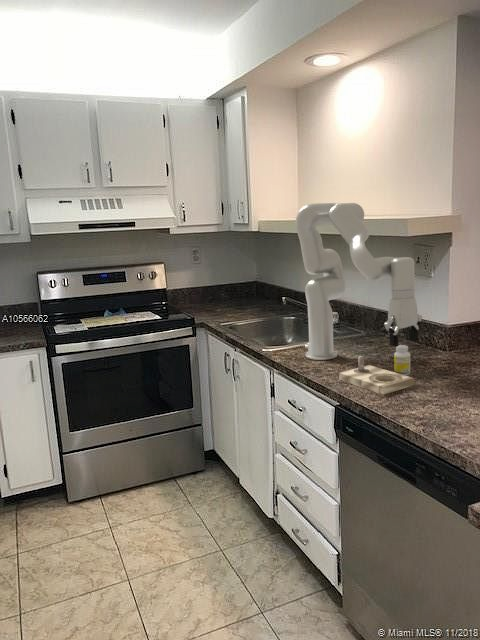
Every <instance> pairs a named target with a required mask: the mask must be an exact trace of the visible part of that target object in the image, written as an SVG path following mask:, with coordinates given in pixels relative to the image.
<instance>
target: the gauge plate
mask: <svg viewBox="0 0 480 640" xmlns="http://www.w3.org/2000/svg"><path fill="white" fill-rule="evenodd" d="M357 359H358V360H357V362H358V363H357V364H358V367H356V368H352V369H347V370H344V371H341V372H338V381H341V380H342V382H345V383H348V384H351V385H354V386H357V387H359V388H362V389H364V390H368V391H371V392H374V393H377V394H380V395H382V396H383V395H386V394H387V395H388V394H390V393H394V392H397V391H400V390H403V389H406V388H410V387H413V386H414V384H415V378H414V377H412V376H409V375H402V374H398V373H395V372H394V371H391V370H387V369H383V368H381V367H377V366H375V365H374V366H373V365H371V364H367V365H365V356H363V355H360V356H358V357H357Z"/></svg>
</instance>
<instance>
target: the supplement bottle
mask: <svg viewBox="0 0 480 640" xmlns="http://www.w3.org/2000/svg"><path fill="white" fill-rule="evenodd" d="M393 363H394V364H393V372H395V373H398V374H402V375H405V376H409V375H410V374H411V353H410V352H409V346H408V345H407V344H406V345H405V344H398V346H397V347H395V352H394V354H393Z"/></svg>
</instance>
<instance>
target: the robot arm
mask: <svg viewBox="0 0 480 640" xmlns="http://www.w3.org/2000/svg"><path fill="white" fill-rule="evenodd" d="M364 219H365V211H364V208H363V207H362V206H361V205H360V204H358V203H356V202H342V203H340V202H324V203H323V202H321V203H320V202H318V203H316V202H315V203H309V204H306V205H304V206H303V207H302V206H301V208H300V209H299V210H298V212H297V214H296V218H295V228H296V233H297V237H298V239H299V243H300V249H301V255H302V261H303V265H304V270H305V272H306V273H307V274H309V275H311V276H313V275H315V276H316V275H322V274H323V275H322V276H321V277H316V278H313V279H311V280H309V281H308V282H307V283H306V285H305V287H304V288H305V289H304V293H305V299H306V303H307V304H306V305H307V313H308V314H307V316H308V342H307V343H306V344H305V345H304V348H305V349H307V352H305V357H306V358H307V359H310V360H315V361H316V360H317V361H326V360H327V361H328V360H332V359H335V358H337V357H338V352H337V351H335V350H334V325H333V324H334V319H333V318H334V317H333V309H332V307H331V304H330V301H331V300H332V301H333V300H335V299H339V298H341V297H342V296H343V295H344V294H345V291H346V282H345V281H346V280H345V275H344V271H343V270H344V269H343V264H342V259H341V257H340V255H339V254H338V252H337V251H336V250H334V249H332V248H324V245H323V239H322V236H321V234H320V232H319V231H318V229H317V227H320V226H321V227H322V226H333V227H334V228H335V229H336V230H337V231H338V233H339V235H340V236H341V237H342V238H343V239H344V241H345V242H346V243H347V245H349V254H350V258H351V261H352V263H353V265H354V266H355V268H356V269H357V270H358V272H359V273H360V274H361V276H363V277H364V278H366V280H368V281H371V282H372V281H373V282H375V281H380V280H385V279H390V284H391V289H390V290H391V291H390V292H391V299H389V303H388V311H387V320H386V321H385V322H384V324H383V325H384V328H385V331H386V333H387V334H388V335H389V346H390V347H395V348H396V347H397V346H398V345H399V334H398V332H399V330H400V329H406V328H409V329H408V331H409V332H408V333H409V336H408V337H409V338H408V339H409V341H411V342H418V341H419V333H418V331H419V330H420V326H421V324H422V323H421V321H422V320H423V316H422V315H421V314H419V313H418V305H417V300H416V293H415V292H416V290H415V289H416V288H415V287H416V286H415V285H416V283H415V260H414V258H412V257H409V256H407V257H395V256H394V257H393V256H381V257H374V256H373V255H372V254H371V253H370V251H369V250H368V248H367V247H366V243H365V242H366V241H367V240H368V239H369V237H370V230H369V228H368V227H367V226H366V225H365V224H364V223H363V221H364Z"/></svg>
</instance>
